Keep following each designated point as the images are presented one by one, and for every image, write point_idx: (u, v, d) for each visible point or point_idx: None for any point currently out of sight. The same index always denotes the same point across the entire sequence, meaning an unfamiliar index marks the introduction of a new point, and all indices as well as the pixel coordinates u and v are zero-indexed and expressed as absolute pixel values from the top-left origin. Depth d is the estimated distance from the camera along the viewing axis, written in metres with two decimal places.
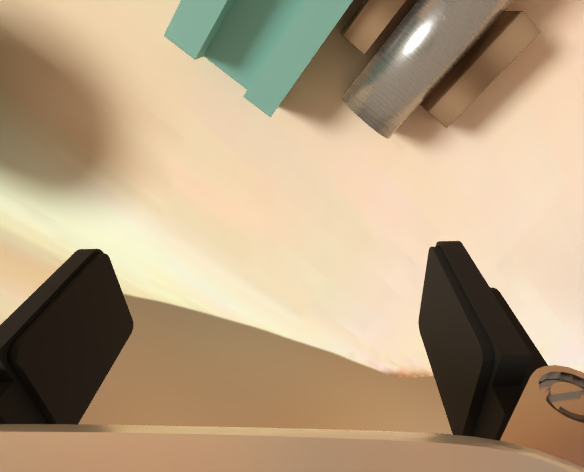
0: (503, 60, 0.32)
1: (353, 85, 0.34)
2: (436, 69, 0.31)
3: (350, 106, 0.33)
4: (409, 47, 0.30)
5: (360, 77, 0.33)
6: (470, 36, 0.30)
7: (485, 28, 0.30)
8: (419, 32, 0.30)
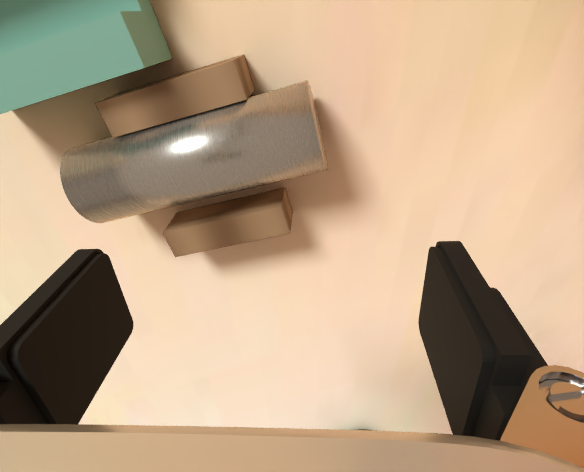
0: (249, 234, 0.30)
1: None
2: (158, 186, 0.25)
3: (64, 157, 0.27)
4: (143, 144, 0.25)
5: (100, 140, 0.27)
6: (204, 180, 0.25)
7: (227, 185, 0.26)
8: (160, 137, 0.25)
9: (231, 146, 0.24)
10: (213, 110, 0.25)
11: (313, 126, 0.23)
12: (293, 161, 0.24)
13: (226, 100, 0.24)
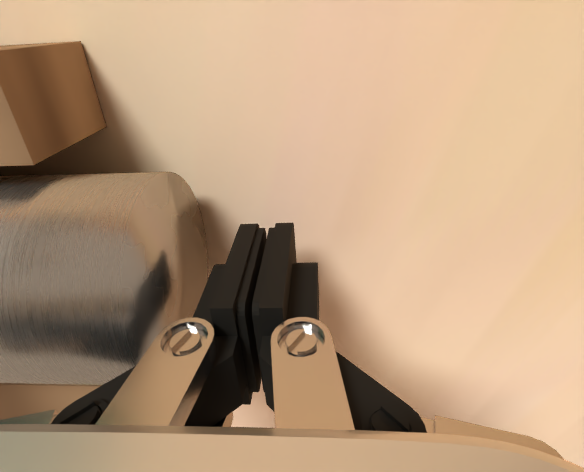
0: None
1: None
2: None
3: None
4: None
5: None
6: None
7: None
8: None
9: None
10: None
11: (128, 350, 0.08)
12: (89, 383, 0.10)
13: None
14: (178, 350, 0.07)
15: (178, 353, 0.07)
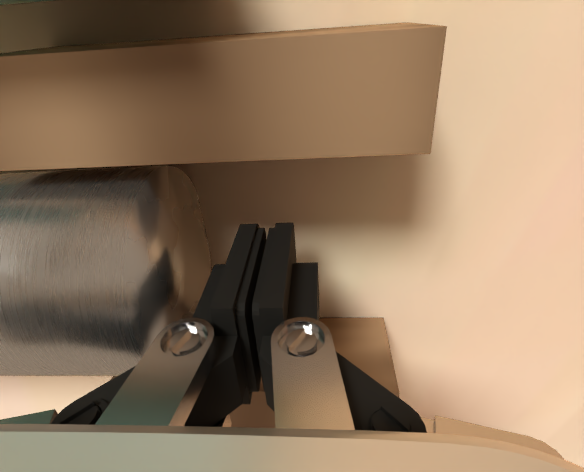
0: None
1: None
2: None
3: None
4: None
5: None
6: None
7: None
8: None
9: None
10: None
11: (133, 341, 0.08)
12: (97, 375, 0.10)
13: (369, 144, 0.08)
14: (178, 350, 0.07)
15: (178, 353, 0.07)
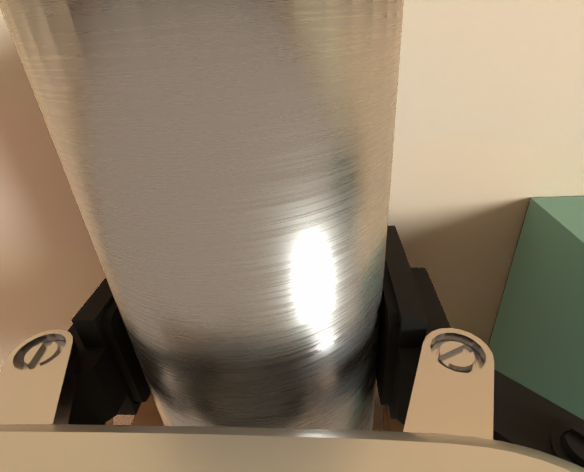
0: None
1: (398, 61, 0.06)
2: (163, 383, 0.07)
3: None
4: (315, 380, 0.07)
5: (393, 123, 0.06)
6: None
7: None
8: (323, 418, 0.08)
9: None
10: None
11: None
12: None
13: None
14: (37, 364, 0.07)
15: (38, 366, 0.07)
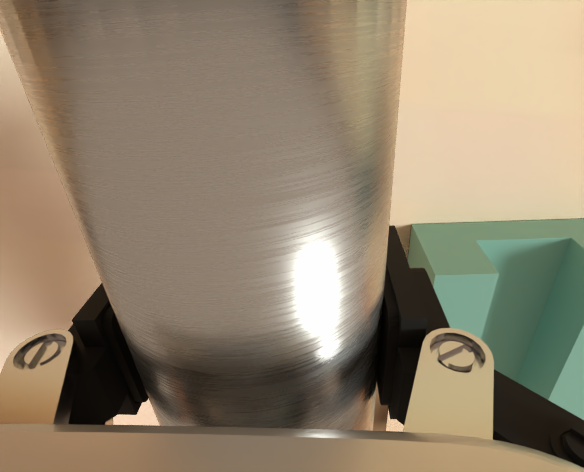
0: None
1: (400, 77, 0.06)
2: (164, 398, 0.07)
3: None
4: (318, 394, 0.07)
5: (395, 139, 0.06)
6: None
7: None
8: None
9: None
10: None
11: None
12: None
13: None
14: (37, 363, 0.07)
15: (38, 366, 0.07)
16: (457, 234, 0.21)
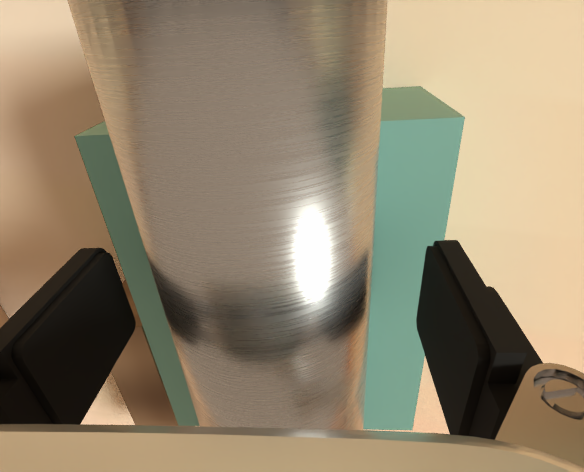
0: None
1: (381, 69, 0.07)
2: (184, 328, 0.09)
3: None
4: (307, 331, 0.08)
5: (376, 120, 0.07)
6: (200, 407, 0.11)
7: (194, 407, 0.12)
8: (314, 367, 0.09)
9: None
10: (351, 426, 0.12)
11: None
12: None
13: None
14: None
15: None
16: None
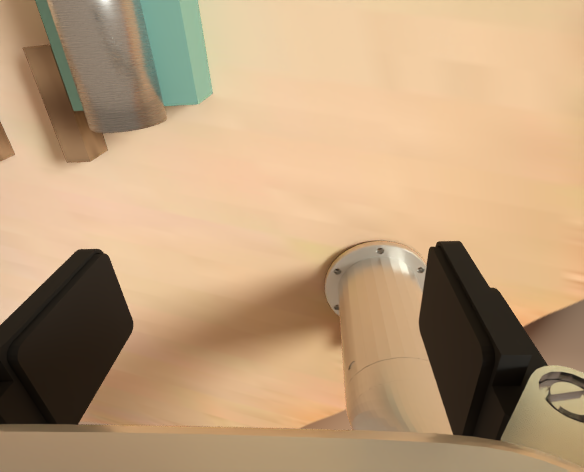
0: None
1: None
2: None
3: None
4: None
5: None
6: (52, 11, 0.25)
7: (57, 32, 0.26)
8: None
9: (82, 53, 0.25)
10: (125, 32, 0.26)
11: (106, 131, 0.28)
12: (83, 106, 0.28)
13: (64, 149, 0.36)
14: None
15: None
16: None
